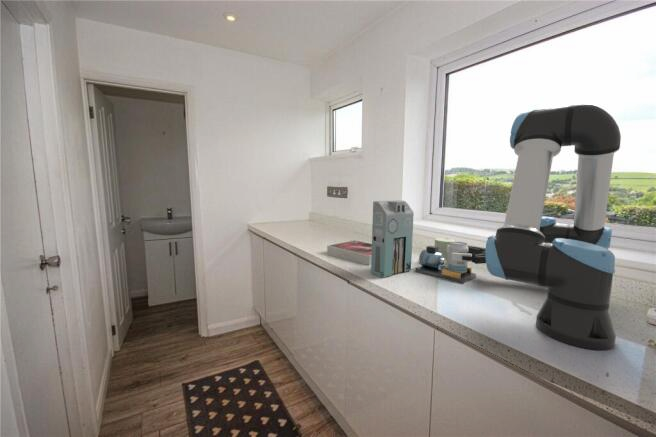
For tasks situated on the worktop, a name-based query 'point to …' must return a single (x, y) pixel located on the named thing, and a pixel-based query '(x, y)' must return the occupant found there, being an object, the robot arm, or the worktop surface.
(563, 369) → the worktop surface
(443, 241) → the can
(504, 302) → the worktop surface
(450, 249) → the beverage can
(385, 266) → the device
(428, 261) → the motor
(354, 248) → the product packaging
